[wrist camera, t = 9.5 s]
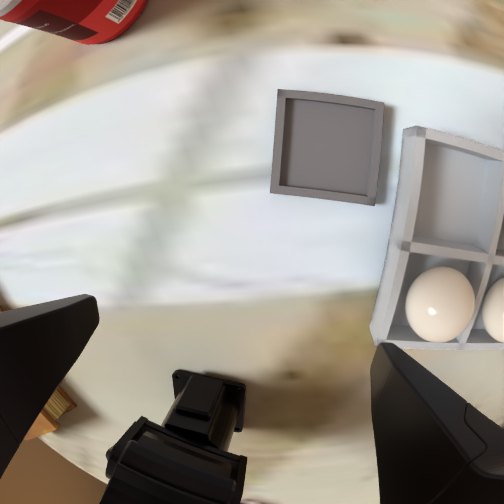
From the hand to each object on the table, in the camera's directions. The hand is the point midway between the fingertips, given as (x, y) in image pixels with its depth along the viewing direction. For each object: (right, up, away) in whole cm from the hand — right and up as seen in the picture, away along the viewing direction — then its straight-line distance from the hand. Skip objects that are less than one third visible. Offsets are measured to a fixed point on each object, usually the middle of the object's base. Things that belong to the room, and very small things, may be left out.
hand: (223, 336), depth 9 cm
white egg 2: (+19, -2, +7) cm, 20 cm away
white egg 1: (+13, -1, +8) cm, 15 cm away
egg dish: (+5, +9, +9) cm, 14 cm away
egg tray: (+20, +2, +8) cm, 22 cm away
